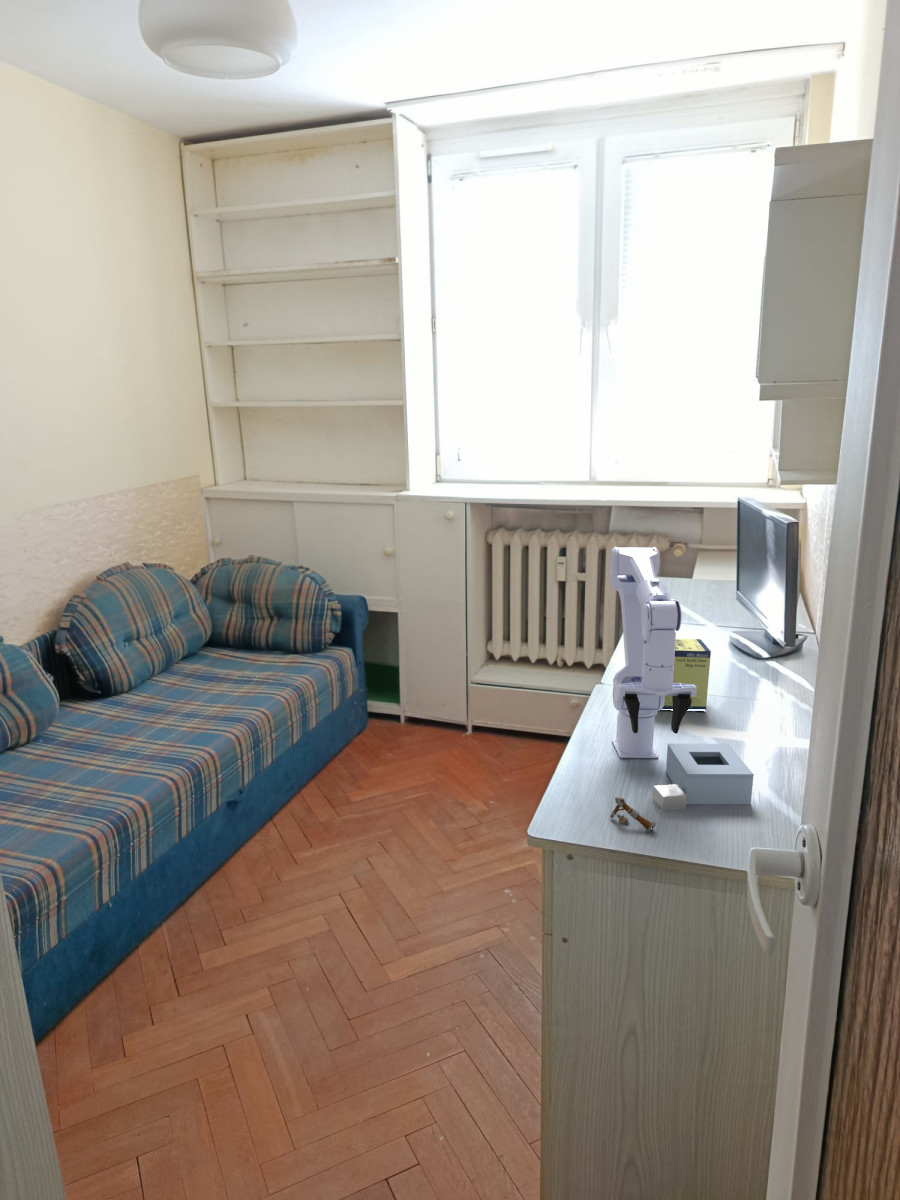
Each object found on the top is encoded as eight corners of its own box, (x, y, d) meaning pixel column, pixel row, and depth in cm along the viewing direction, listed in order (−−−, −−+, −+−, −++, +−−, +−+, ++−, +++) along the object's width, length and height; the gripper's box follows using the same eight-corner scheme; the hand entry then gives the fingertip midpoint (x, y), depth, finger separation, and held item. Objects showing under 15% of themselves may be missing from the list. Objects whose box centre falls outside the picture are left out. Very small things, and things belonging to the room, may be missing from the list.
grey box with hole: (665, 771, 163) (667, 743, 162) (725, 771, 163) (728, 743, 162) (685, 804, 150) (687, 774, 148) (750, 804, 150) (753, 774, 148)
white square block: (652, 800, 152) (653, 785, 151) (675, 799, 152) (676, 784, 152) (662, 812, 147) (663, 796, 147) (685, 810, 148) (686, 795, 147)
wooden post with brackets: (608, 810, 145) (619, 792, 143) (645, 840, 142) (657, 822, 140) (604, 814, 144) (614, 796, 142) (641, 844, 140) (652, 826, 138)
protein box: (707, 712, 196) (712, 650, 192) (641, 711, 197) (645, 649, 193) (697, 698, 206) (701, 638, 202) (634, 696, 207) (638, 637, 203)
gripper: (624, 669, 150) (621, 738, 153) (703, 669, 150) (698, 739, 153) (616, 658, 157) (613, 725, 160) (692, 658, 157) (687, 726, 159)
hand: (654, 731), depth 157 cm, fingers open, 7 cm apart
